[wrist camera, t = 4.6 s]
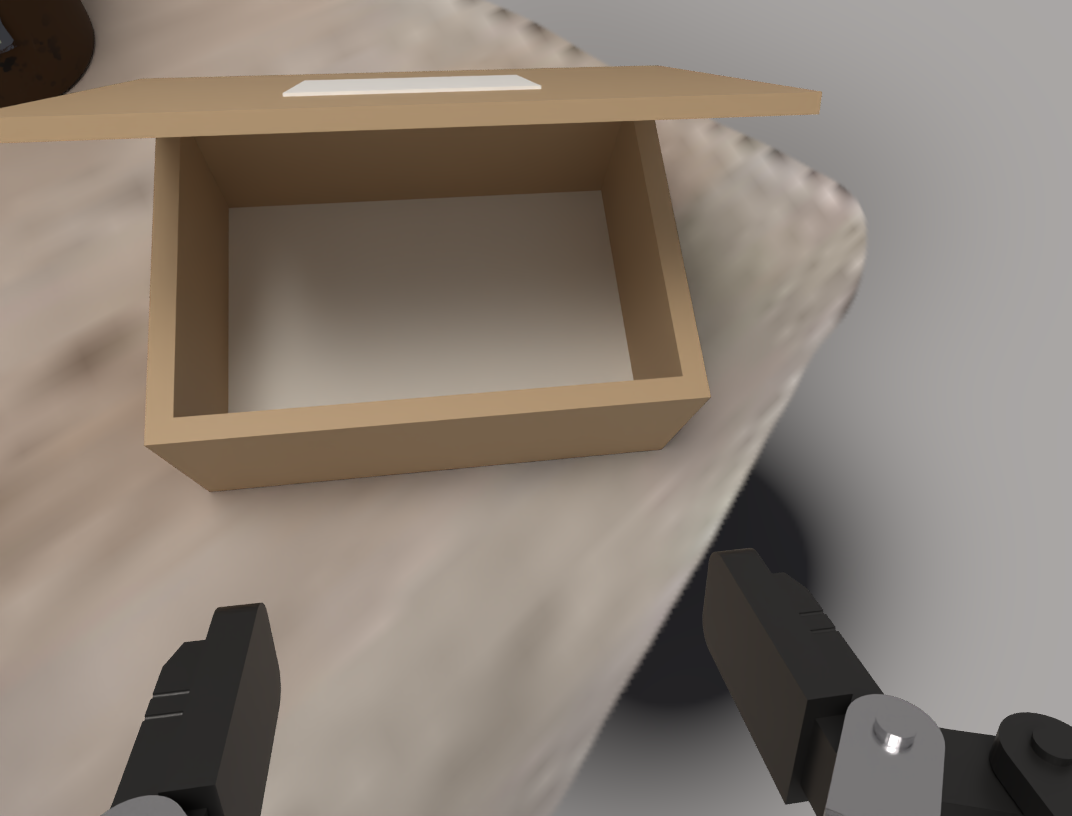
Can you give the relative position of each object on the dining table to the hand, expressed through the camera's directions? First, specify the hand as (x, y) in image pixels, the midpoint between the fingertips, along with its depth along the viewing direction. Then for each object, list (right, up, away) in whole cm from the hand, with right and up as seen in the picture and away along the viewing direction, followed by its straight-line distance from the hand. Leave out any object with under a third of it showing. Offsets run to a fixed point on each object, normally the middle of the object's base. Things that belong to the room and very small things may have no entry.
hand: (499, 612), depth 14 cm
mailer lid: (-4, +15, +14) cm, 21 cm away
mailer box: (-5, +8, +26) cm, 28 cm away
